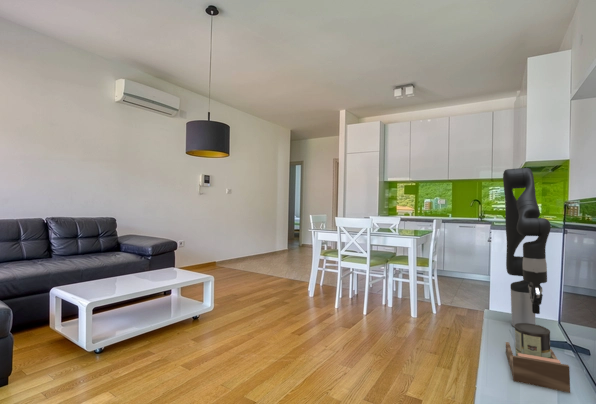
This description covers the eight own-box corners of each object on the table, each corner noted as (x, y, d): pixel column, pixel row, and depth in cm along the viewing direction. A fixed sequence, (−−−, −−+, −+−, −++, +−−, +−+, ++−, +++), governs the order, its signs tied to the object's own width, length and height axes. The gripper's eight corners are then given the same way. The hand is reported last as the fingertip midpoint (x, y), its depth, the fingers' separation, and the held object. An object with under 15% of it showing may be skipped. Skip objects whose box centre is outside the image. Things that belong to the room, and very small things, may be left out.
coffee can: (541, 361, 114) (540, 323, 115) (558, 376, 104) (557, 334, 104) (510, 359, 116) (509, 321, 117) (524, 373, 106) (522, 332, 107)
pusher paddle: (518, 376, 105) (517, 352, 105) (559, 384, 100) (559, 359, 100) (519, 379, 103) (518, 355, 103) (561, 388, 97) (561, 363, 98)
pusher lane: (505, 352, 122) (505, 331, 122) (552, 359, 115) (551, 338, 115) (513, 381, 102) (513, 356, 102) (570, 392, 95) (569, 366, 95)
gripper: (520, 264, 128) (521, 306, 128) (525, 272, 117) (526, 317, 117) (543, 266, 125) (544, 308, 125) (550, 273, 113) (552, 320, 113)
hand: (535, 313), depth 121 cm, fingers closed
